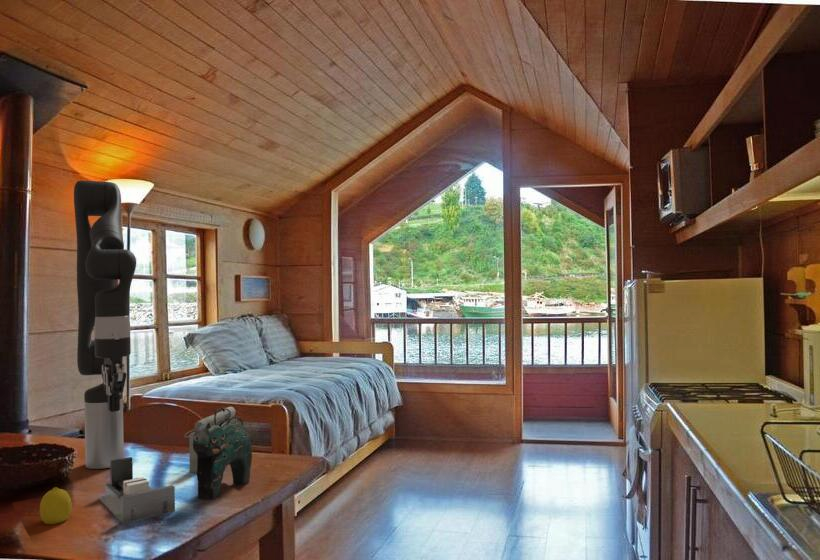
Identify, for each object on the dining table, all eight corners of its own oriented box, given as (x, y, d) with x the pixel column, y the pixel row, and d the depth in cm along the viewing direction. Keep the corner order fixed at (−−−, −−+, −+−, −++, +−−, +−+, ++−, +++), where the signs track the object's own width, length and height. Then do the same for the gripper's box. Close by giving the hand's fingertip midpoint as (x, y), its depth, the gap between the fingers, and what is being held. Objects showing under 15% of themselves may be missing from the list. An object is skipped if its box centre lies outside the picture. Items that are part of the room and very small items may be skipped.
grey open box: (97, 504, 139) (97, 474, 139) (145, 493, 145) (144, 465, 145) (123, 531, 123) (122, 497, 123) (175, 518, 130) (174, 486, 130)
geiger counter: (203, 422, 156) (249, 402, 180) (179, 421, 157) (228, 401, 181) (204, 479, 156) (249, 451, 180) (180, 477, 157) (229, 450, 181)
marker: (123, 504, 134) (122, 480, 134) (143, 500, 136) (143, 476, 136) (128, 510, 131) (128, 485, 131) (149, 505, 133) (148, 481, 133)
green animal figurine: (212, 509, 134) (211, 415, 134) (185, 507, 136) (184, 414, 136) (257, 480, 154) (256, 397, 154) (233, 479, 155) (231, 397, 155)
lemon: (48, 523, 128) (47, 483, 128) (76, 521, 129) (75, 482, 129) (34, 534, 123) (33, 492, 123) (64, 532, 123) (63, 491, 123)
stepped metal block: (110, 492, 141) (110, 460, 141) (131, 487, 144) (130, 456, 144) (122, 503, 134) (121, 469, 134) (143, 498, 137) (143, 465, 137)
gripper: (88, 335, 149) (89, 409, 149) (102, 338, 139) (103, 418, 139) (121, 333, 154) (123, 404, 154) (138, 336, 144) (139, 413, 144)
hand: (114, 410), depth 146 cm, fingers closed
